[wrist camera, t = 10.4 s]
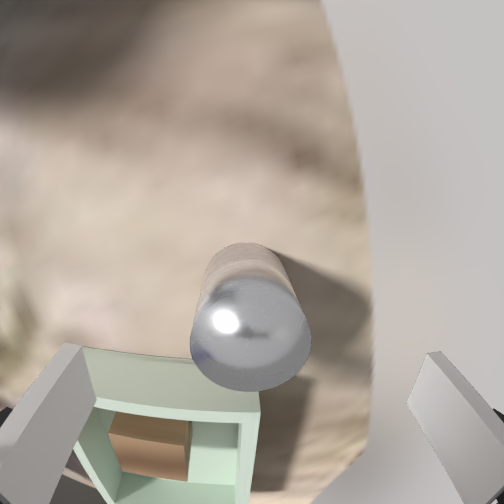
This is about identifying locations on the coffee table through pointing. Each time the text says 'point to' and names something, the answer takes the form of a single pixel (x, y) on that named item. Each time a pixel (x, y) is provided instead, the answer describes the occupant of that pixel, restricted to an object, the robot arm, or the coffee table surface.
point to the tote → (171, 407)
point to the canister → (248, 321)
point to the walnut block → (152, 445)
